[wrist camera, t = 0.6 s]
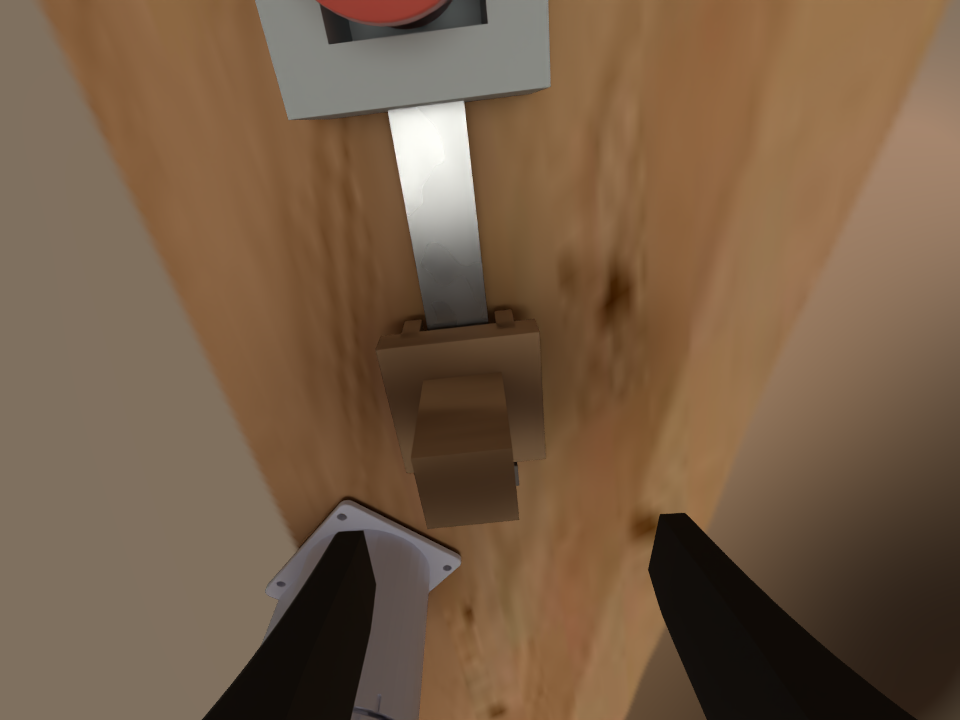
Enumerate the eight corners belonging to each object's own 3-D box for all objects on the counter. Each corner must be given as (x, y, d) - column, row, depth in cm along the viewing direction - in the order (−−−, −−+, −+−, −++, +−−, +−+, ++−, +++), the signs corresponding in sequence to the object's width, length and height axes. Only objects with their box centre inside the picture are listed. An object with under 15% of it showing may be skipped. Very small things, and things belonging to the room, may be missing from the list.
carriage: (537, 424, 21) (566, 546, 15) (412, 437, 21) (391, 563, 15) (531, 307, 18) (562, 400, 12) (385, 323, 18) (347, 422, 12)
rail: (514, 451, 23) (519, 485, 21) (444, 458, 23) (442, 493, 21) (479, 81, 15) (482, 75, 13) (374, 95, 15) (359, 91, 13)
